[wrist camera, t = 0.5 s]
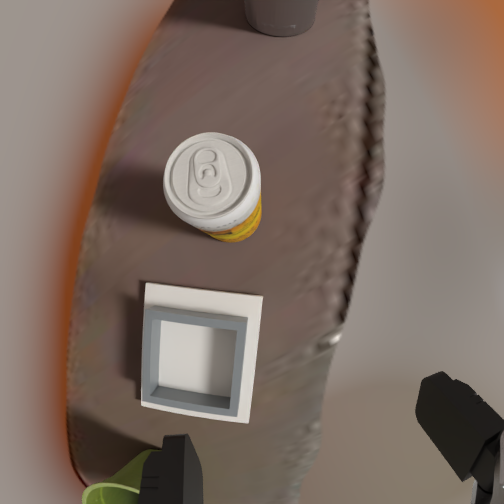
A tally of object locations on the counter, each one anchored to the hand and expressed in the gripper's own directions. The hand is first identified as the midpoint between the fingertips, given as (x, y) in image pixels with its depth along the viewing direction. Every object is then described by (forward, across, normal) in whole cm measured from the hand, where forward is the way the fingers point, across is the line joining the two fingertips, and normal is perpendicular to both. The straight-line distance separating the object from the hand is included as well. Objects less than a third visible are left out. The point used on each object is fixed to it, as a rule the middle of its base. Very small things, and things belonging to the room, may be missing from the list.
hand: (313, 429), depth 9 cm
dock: (+22, +6, +10) cm, 25 cm away
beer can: (+26, 0, -3) cm, 26 cm away
